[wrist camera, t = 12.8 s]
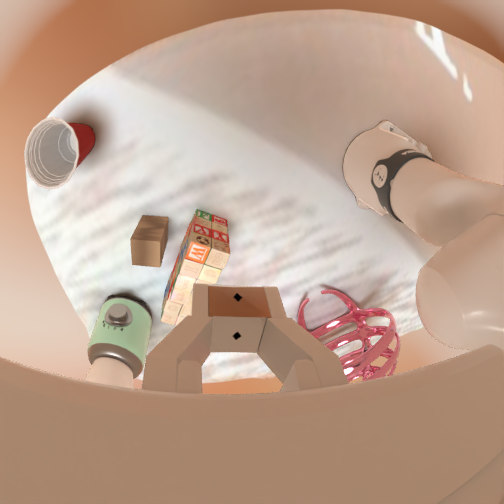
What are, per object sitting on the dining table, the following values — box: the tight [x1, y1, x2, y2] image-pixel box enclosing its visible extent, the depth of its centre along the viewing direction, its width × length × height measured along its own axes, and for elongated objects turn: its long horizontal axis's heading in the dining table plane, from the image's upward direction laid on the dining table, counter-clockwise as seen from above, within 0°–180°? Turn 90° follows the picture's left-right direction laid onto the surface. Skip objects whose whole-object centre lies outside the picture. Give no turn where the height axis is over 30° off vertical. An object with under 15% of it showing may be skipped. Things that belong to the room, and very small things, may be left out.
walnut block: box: [131, 215, 168, 267], centre depth 46 cm, size 5×5×9 cm
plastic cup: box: [24, 117, 95, 189], centre depth 34 cm, size 11×11×12 cm
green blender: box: [85, 296, 152, 388], centre depth 47 cm, size 19×13×35 cm
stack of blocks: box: [161, 209, 230, 326], centre depth 50 cm, size 21×6×12 cm, turn 154°
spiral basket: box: [298, 289, 400, 382], centre depth 57 cm, size 28×28×27 cm
